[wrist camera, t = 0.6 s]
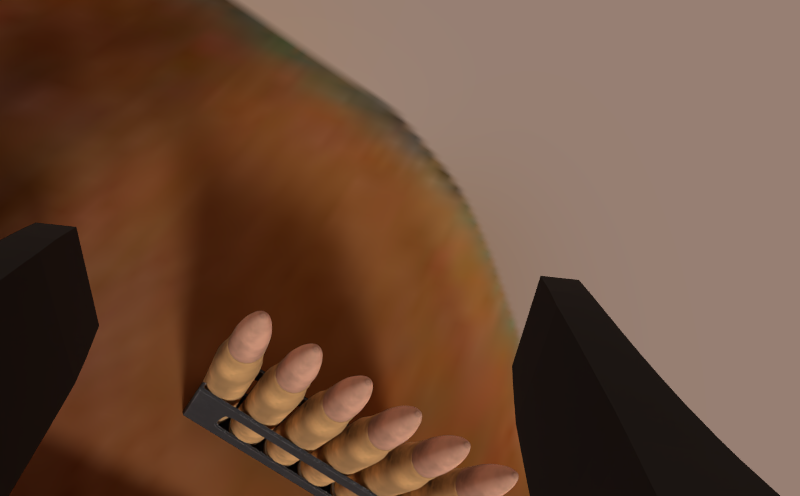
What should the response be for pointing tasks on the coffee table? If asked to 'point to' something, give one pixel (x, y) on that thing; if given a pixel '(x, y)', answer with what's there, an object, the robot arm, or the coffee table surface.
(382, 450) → the ammunition clip
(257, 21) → the coffee table surface
